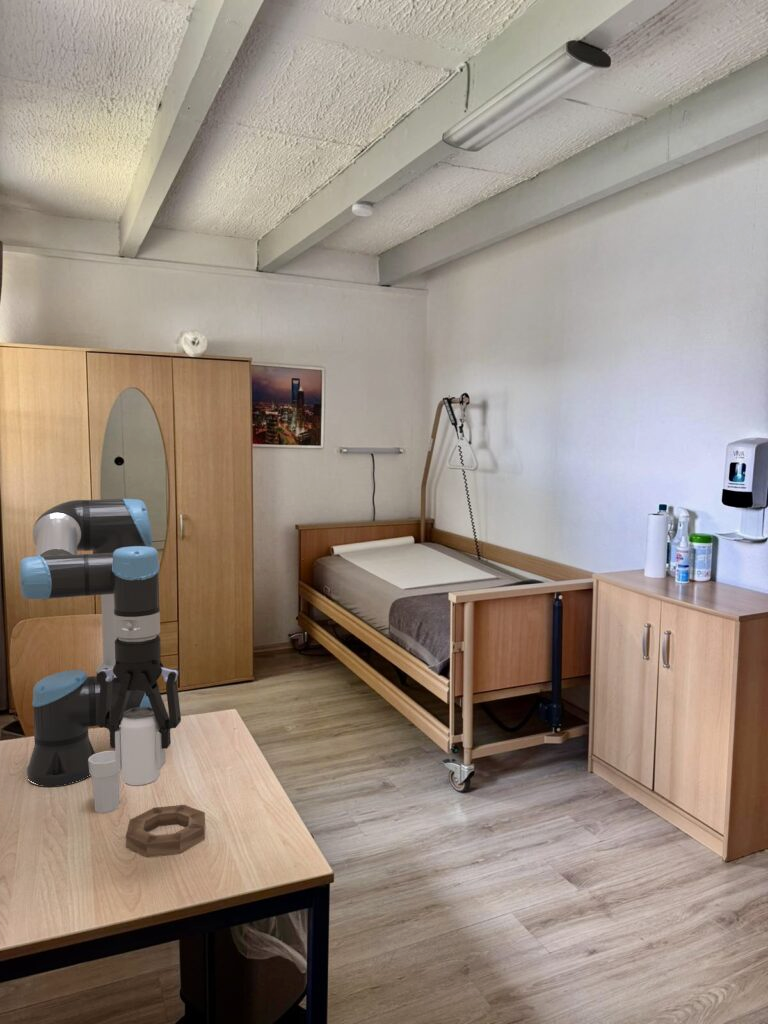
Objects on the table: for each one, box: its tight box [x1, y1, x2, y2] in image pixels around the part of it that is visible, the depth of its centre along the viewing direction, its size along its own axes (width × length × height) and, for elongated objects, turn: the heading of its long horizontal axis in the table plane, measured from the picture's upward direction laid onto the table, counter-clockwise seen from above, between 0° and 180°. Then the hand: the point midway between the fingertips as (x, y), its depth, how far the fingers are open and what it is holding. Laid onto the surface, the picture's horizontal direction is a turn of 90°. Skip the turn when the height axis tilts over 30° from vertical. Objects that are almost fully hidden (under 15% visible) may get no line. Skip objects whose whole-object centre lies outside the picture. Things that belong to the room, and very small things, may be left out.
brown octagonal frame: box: [125, 804, 206, 858], centre depth 145 cm, size 14×14×2 cm
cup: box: [88, 750, 122, 814], centre depth 156 cm, size 7×7×11 cm
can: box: [120, 707, 161, 787], centre depth 129 cm, size 6×6×12 cm
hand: (141, 765), depth 129 cm, fingers closed on can, 6 cm apart
